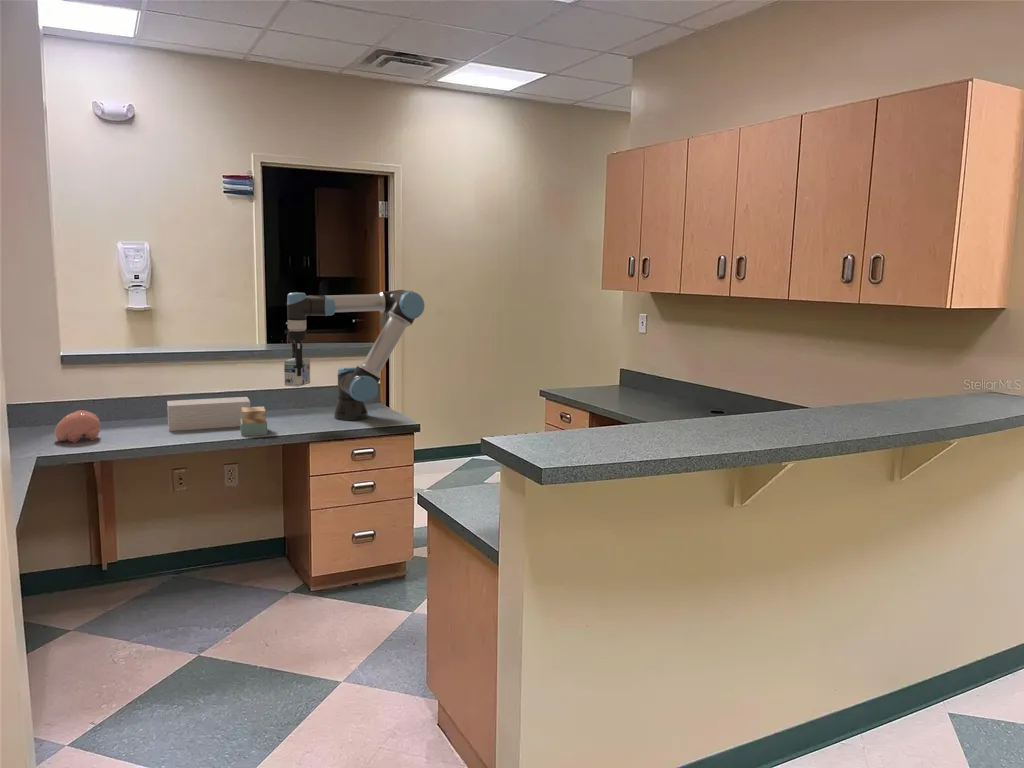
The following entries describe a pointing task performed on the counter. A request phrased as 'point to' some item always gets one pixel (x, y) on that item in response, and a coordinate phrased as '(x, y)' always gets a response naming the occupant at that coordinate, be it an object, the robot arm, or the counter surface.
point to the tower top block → (253, 415)
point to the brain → (78, 426)
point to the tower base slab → (253, 428)
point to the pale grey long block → (205, 413)
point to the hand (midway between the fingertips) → (297, 381)
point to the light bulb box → (290, 372)
